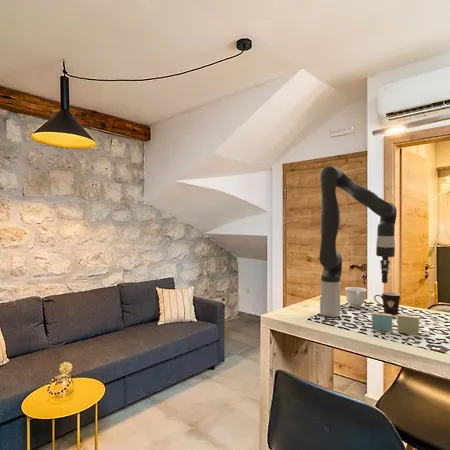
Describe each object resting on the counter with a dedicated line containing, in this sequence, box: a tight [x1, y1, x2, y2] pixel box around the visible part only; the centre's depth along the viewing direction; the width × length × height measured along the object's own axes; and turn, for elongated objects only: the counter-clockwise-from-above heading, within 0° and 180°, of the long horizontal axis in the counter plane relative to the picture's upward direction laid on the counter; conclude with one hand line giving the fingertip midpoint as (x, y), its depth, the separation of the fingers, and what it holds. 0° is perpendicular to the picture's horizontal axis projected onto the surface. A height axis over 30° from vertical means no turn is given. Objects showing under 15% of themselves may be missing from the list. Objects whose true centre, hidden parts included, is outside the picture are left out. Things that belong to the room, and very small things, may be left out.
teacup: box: [344, 286, 368, 309], centre depth 180 cm, size 12×15×10 cm
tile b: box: [396, 313, 420, 335], centre depth 138 cm, size 8×2×7 cm, turn 63°
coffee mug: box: [373, 291, 401, 315], centre depth 170 cm, size 12×9×10 cm
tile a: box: [371, 312, 393, 333], centre depth 141 cm, size 8×2×7 cm, turn 62°
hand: (384, 281), depth 147 cm, fingers open, 8 cm apart
